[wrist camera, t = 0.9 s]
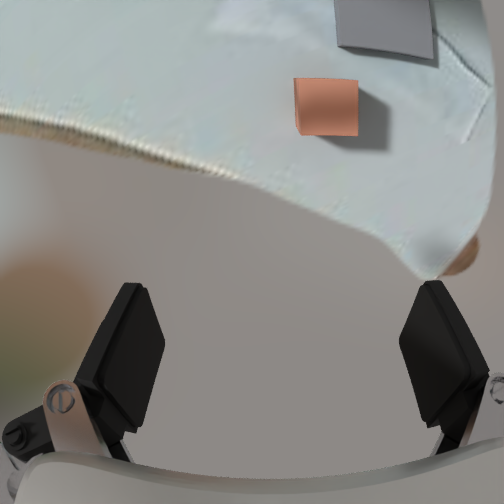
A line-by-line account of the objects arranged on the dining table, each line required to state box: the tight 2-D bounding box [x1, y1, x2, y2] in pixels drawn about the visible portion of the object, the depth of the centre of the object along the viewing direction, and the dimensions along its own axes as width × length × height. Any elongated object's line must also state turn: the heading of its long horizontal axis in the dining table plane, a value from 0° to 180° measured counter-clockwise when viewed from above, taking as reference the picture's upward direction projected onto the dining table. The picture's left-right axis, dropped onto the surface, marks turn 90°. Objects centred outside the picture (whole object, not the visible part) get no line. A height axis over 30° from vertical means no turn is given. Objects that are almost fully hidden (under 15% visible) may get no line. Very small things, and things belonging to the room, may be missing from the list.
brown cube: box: [294, 78, 358, 136], centre depth 24 cm, size 5×5×5 cm
